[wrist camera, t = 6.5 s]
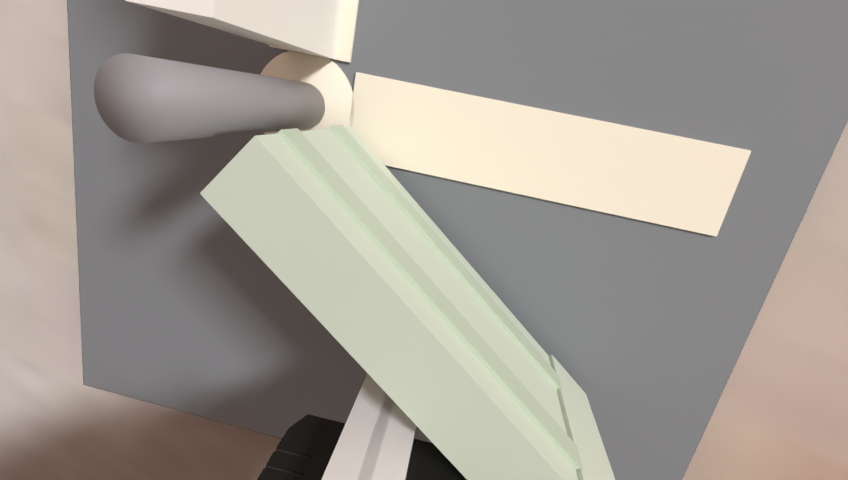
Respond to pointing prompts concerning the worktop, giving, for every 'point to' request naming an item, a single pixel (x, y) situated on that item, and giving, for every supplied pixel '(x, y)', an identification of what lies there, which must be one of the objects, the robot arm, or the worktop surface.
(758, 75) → the mat
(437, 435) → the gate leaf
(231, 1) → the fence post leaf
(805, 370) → the worktop surface
